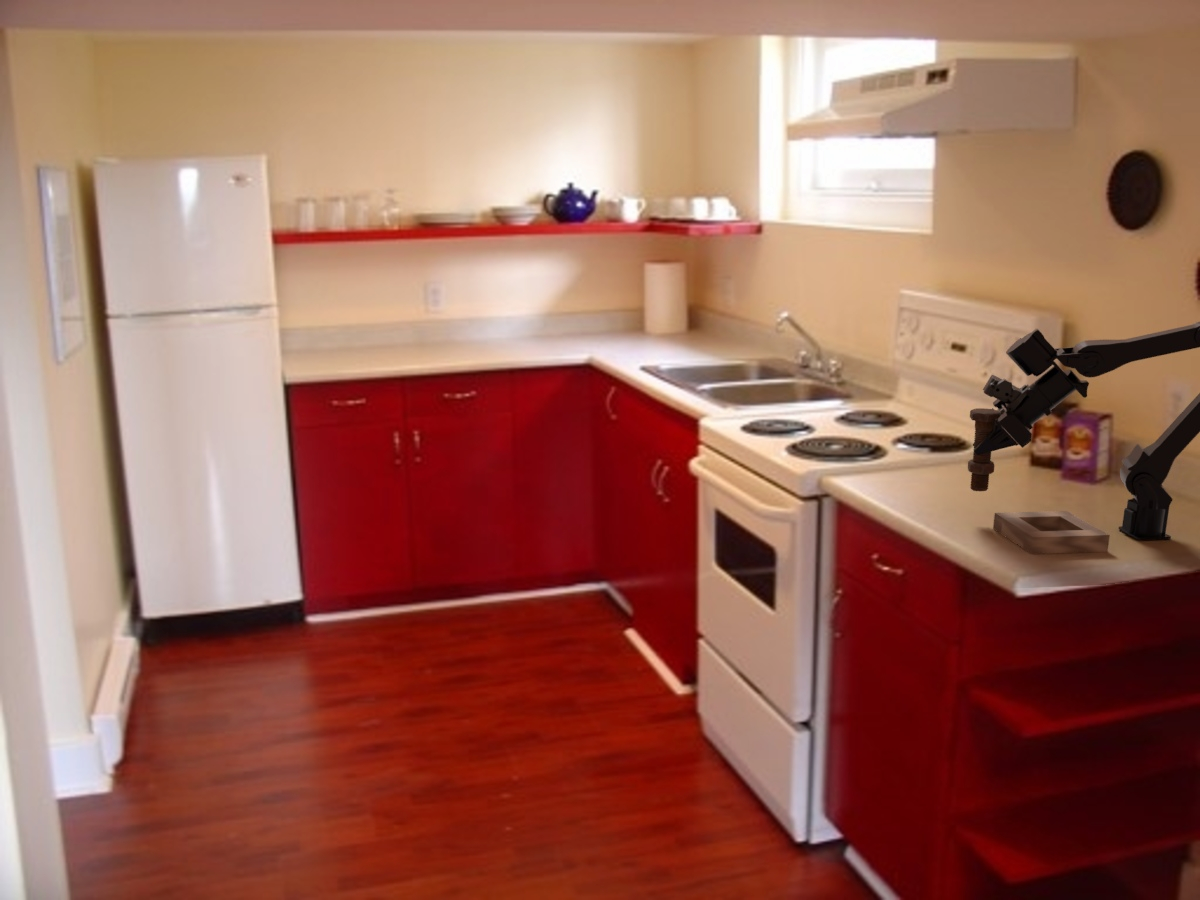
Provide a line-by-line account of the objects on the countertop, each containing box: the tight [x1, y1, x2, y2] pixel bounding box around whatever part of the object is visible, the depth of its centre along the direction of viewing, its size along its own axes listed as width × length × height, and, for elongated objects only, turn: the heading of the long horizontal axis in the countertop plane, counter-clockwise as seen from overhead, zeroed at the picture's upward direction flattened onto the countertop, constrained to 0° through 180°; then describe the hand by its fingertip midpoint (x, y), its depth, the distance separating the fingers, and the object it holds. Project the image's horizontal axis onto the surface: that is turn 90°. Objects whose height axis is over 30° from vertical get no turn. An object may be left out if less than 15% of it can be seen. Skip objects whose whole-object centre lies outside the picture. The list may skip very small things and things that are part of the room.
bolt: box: [967, 407, 1001, 492], centre depth 212 cm, size 6×5×15 cm
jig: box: [992, 510, 1111, 555], centre depth 204 cm, size 14×14×3 cm
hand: (974, 450), depth 212 cm, fingers closed on bolt, 5 cm apart
